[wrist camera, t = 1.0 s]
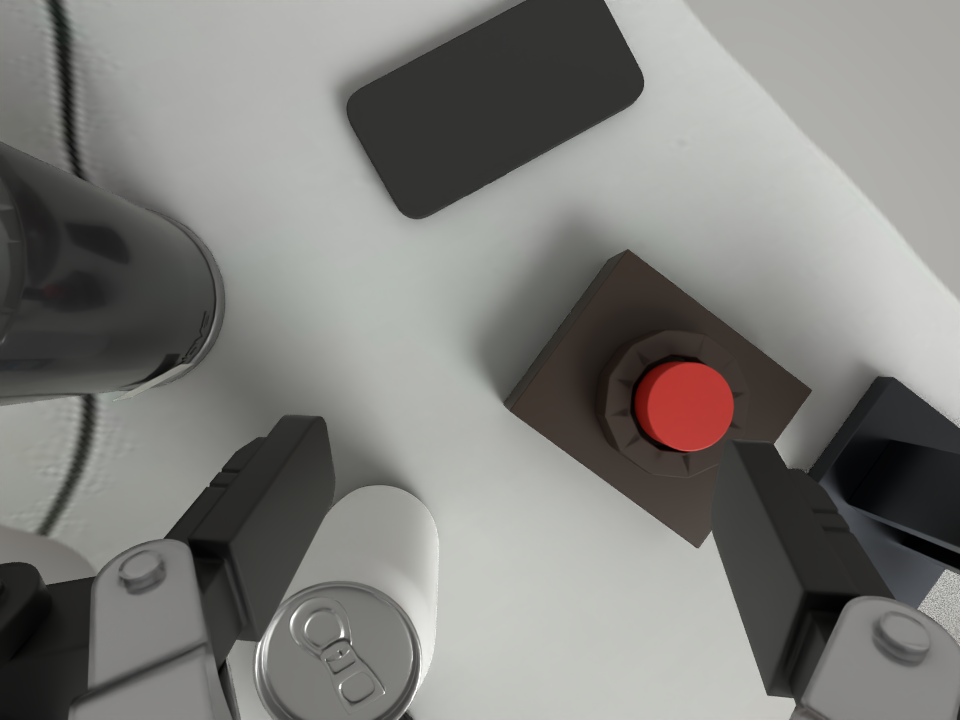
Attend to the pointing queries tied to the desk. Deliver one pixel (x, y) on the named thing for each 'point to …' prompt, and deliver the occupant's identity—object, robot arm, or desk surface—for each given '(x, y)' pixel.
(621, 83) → the phone
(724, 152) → the desk surface
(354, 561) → the can
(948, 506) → the switch bracket
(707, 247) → the desk surface
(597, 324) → the control block
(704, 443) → the stop button
